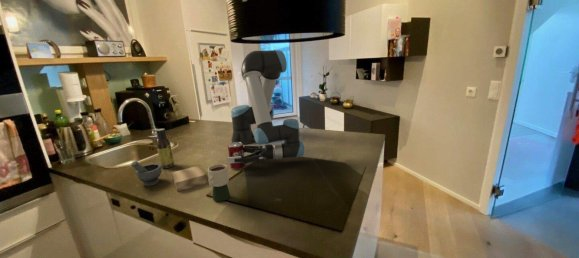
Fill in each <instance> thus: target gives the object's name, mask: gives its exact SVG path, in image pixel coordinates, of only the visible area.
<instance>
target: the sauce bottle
mask: <svg viewBox="0 0 579 258" xmlns="http://www.w3.org/2000/svg"><path fill="white" fill-rule="evenodd" d="M155 133H156V136H157V141H156V149H157V154H158V159H159V163H160V164H159V165H160V166H161V169H169V168H172V167H174V165H175V160H174V155H173V150H172V146H171V142H170V140H169V139H168V138H167V134H166V129H165V128H157V129H156V130H155Z"/></svg>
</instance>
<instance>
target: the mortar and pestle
mask: <svg viewBox="0 0 579 258" xmlns="http://www.w3.org/2000/svg"><path fill="white" fill-rule="evenodd" d="M130 166H131V168H134V169H135V174H136V176H137V178H138V179H139V180H140V181H141V182H143V183H142V184H143V185H144V186H145V187H149V186H153V185H156V184H158V183H159V182H160V178H159V177H160V176H161V174H162V168H161V164H159V163H152V164H145V165H141V164H140V163H139V161H138V160H135V161H133V162H132V163H131V164H130Z"/></svg>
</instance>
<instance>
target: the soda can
mask: <svg viewBox="0 0 579 258" xmlns="http://www.w3.org/2000/svg"><path fill="white" fill-rule="evenodd" d="M243 147H244V145H243V144H242V143H240V142H235V143H232V142H231V143H229V144H228V145H227V148H228V149H227V150H228V157H238V156H243V157H244V156H245V153H244V148H243ZM229 165H230V166H229V167H230V169H231V170H234V171H238V170H242V169H244V168H245V167H246V164H243V163H242V162H239V163H229Z"/></svg>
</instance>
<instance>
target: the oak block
mask: <svg viewBox="0 0 579 258" xmlns="http://www.w3.org/2000/svg"><path fill="white" fill-rule="evenodd" d="M171 176H172V182H173V185H174V186H175V189H176V191H177V192H180V191H183V190H187V189H191V188H194V187H198V186H201V185H204V184H207V183H208V182H207V181H208V179H207V174H206V173H205V171H204V170H203V168H202V167H201V166H200V165H195V166H192V167H188V168H184V169H180V170H177V171H176V170H175V171H172V172H171Z"/></svg>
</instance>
